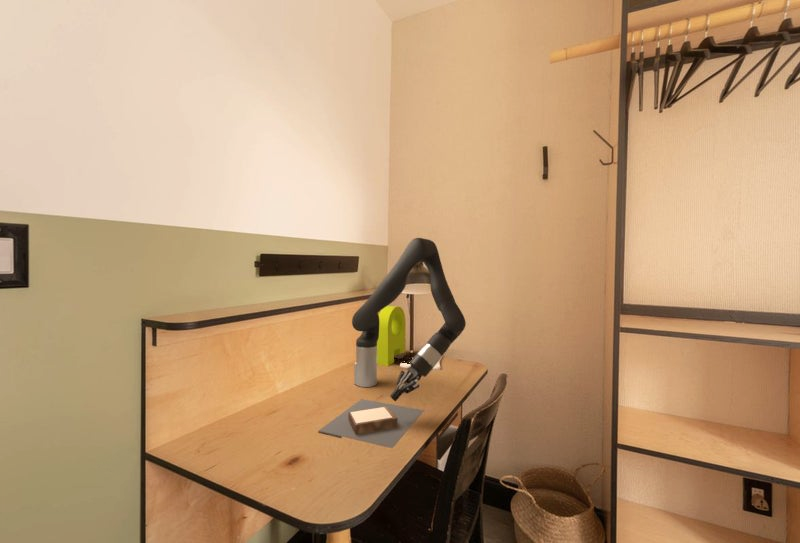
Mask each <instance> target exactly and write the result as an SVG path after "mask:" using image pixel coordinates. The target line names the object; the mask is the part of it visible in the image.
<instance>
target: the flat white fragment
mask: <svg viewBox="0 0 800 543" xmlns="http://www.w3.org/2000/svg"><path fill="white" fill-rule="evenodd" d="M442 359H443V355H442V356H441V358H440V360H439V361H438V363H437V364H436V365H435V366H434V367H433V369H432V370H433V371H439V370H441V363H440V362H441V360H442ZM399 366H400V368H405V369H408V368H409V367H411V365H410V364H407V363H402V362H400V364H399Z"/></svg>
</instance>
